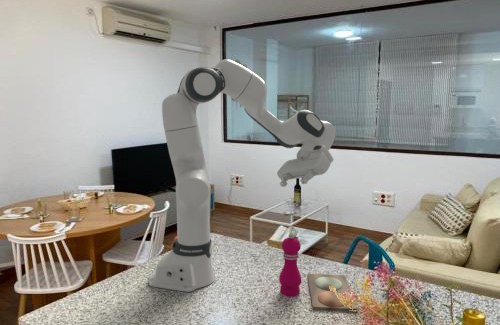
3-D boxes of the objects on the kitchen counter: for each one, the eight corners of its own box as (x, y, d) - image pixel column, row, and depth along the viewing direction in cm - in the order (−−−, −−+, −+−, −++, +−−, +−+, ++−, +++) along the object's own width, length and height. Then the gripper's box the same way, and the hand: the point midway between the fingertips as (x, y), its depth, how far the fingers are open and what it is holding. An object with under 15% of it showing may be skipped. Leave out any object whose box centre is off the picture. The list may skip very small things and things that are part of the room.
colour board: (312, 309, 111) (312, 305, 110) (307, 276, 132) (307, 272, 132) (357, 312, 110) (357, 308, 109) (344, 278, 131) (344, 274, 131)
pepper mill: (300, 298, 117) (302, 238, 114) (277, 296, 118) (278, 236, 115) (301, 288, 124) (303, 230, 121) (280, 285, 125) (281, 228, 122)
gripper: (284, 154, 137) (265, 180, 129) (328, 144, 122) (310, 173, 114) (293, 167, 139) (276, 193, 132) (337, 159, 124) (321, 188, 116)
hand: (292, 184), depth 123 cm, fingers open, 8 cm apart
